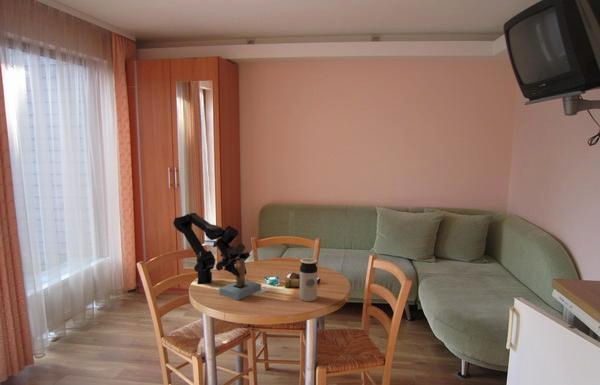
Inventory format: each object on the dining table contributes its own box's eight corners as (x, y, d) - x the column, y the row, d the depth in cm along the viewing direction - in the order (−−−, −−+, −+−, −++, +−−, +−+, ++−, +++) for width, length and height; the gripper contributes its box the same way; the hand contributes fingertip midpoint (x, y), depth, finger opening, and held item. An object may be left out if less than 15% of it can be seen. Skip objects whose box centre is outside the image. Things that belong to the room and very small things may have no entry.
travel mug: (299, 294, 178) (300, 257, 176) (316, 295, 178) (317, 258, 176) (299, 301, 170) (299, 262, 168) (316, 302, 170) (317, 263, 168)
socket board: (219, 294, 178) (219, 288, 177) (242, 284, 191) (242, 279, 191) (238, 300, 171) (238, 293, 171) (261, 289, 184) (261, 283, 184)
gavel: (284, 269, 207) (302, 269, 208) (284, 277, 208) (302, 277, 208) (285, 279, 186) (305, 279, 187) (285, 288, 187) (305, 288, 187)
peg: (236, 292, 179) (236, 261, 177) (236, 289, 183) (236, 258, 181) (244, 291, 179) (244, 260, 178) (244, 288, 183) (244, 258, 182)
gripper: (219, 243, 173) (237, 270, 168) (247, 235, 188) (264, 261, 183) (208, 256, 178) (225, 284, 173) (235, 248, 193) (252, 273, 189)
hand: (242, 275), depth 179 cm, fingers open, 4 cm apart
